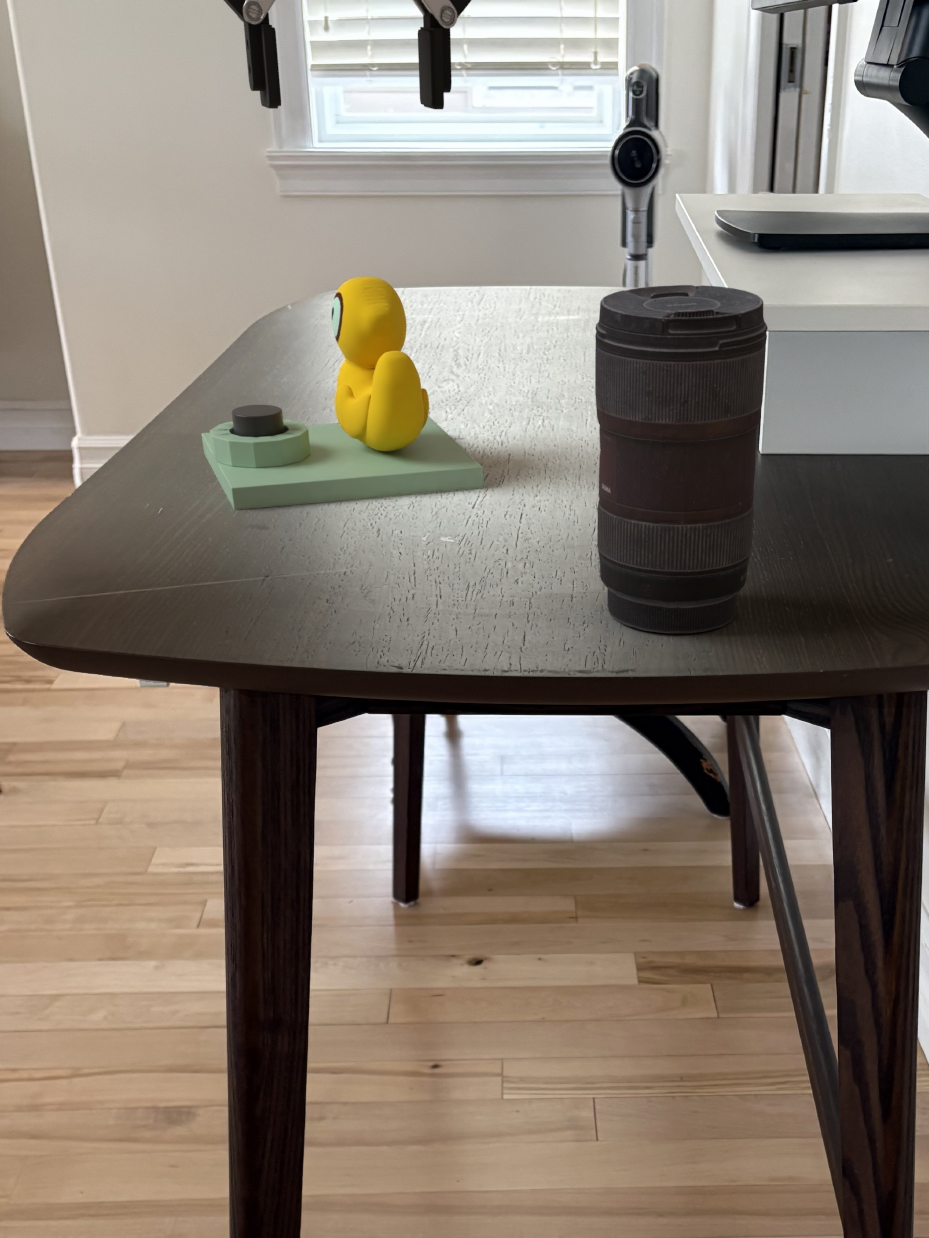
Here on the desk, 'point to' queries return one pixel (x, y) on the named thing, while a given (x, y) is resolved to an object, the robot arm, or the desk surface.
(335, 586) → the desk surface
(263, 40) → the robot arm
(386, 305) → the duckling
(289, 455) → the scale
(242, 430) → the button
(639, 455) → the camera lens
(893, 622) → the desk surface
